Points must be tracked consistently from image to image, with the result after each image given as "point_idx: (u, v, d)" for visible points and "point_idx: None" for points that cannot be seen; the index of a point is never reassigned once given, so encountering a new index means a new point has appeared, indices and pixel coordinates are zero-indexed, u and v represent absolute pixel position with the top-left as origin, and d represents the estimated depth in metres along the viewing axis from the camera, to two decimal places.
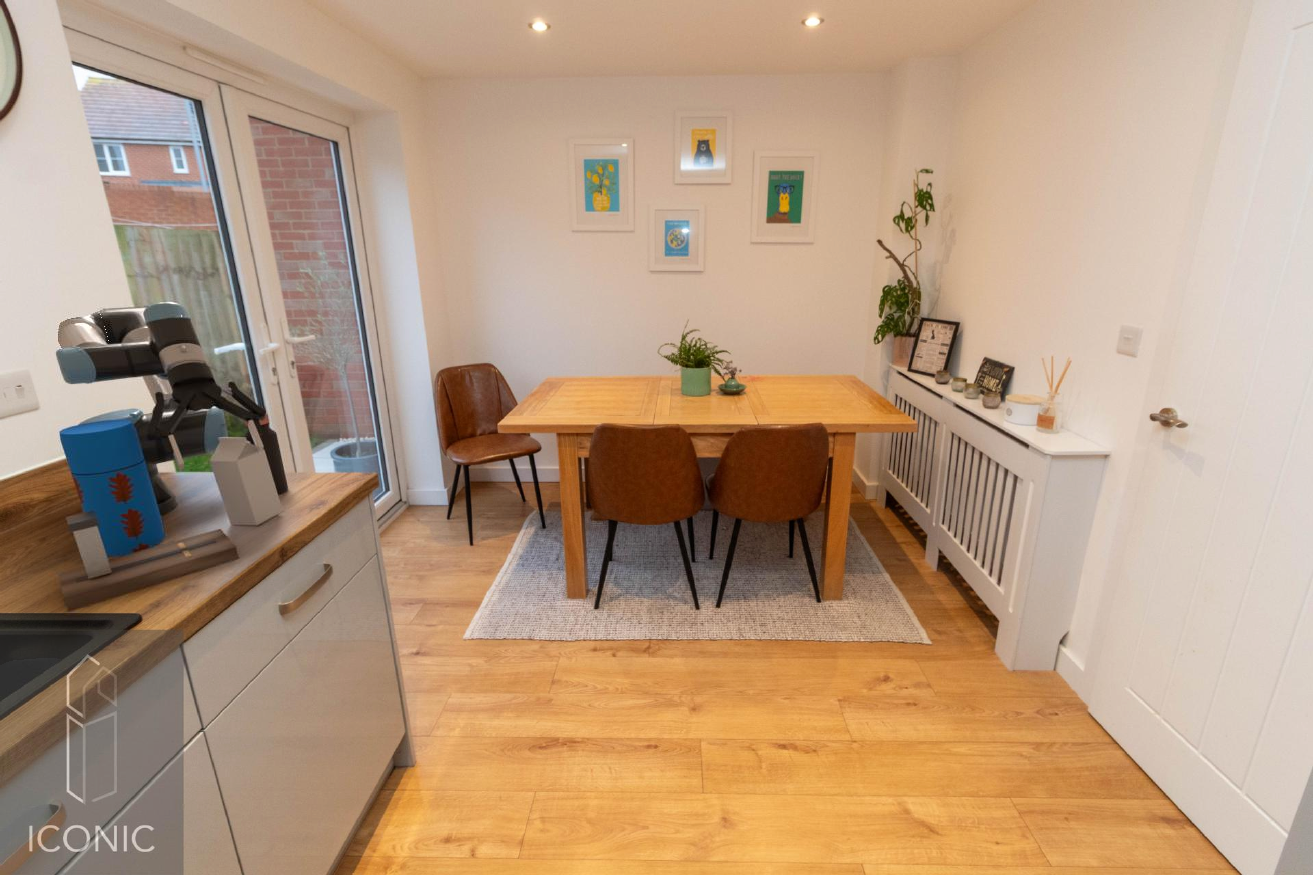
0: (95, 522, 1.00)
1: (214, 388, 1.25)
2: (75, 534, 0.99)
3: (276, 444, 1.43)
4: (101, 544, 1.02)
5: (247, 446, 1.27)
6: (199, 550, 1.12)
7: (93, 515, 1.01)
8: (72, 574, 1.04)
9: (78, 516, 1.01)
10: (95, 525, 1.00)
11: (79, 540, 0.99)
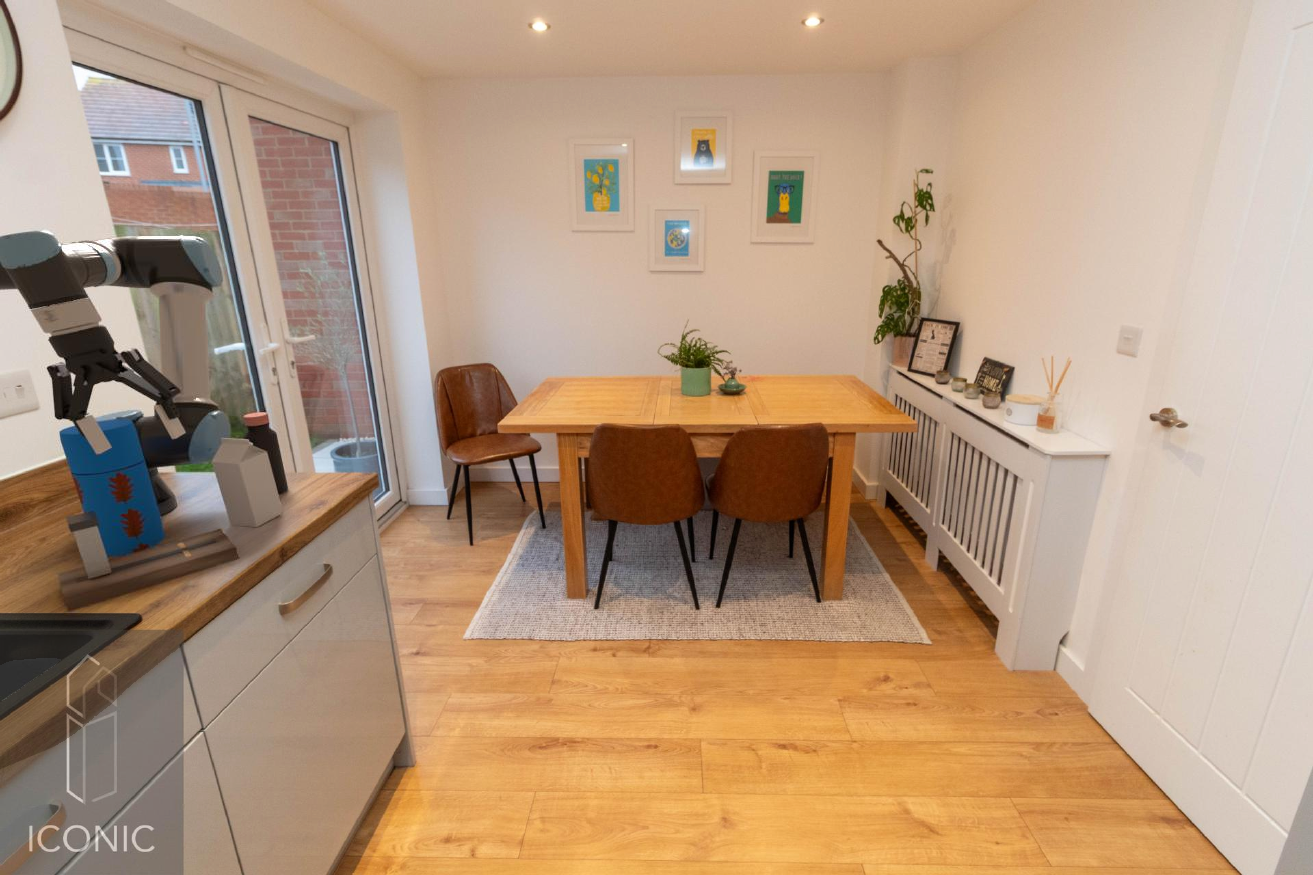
0: (95, 522, 1.00)
1: (107, 360, 1.00)
2: (75, 534, 0.99)
3: (276, 444, 1.43)
4: (101, 544, 1.02)
5: (250, 448, 1.26)
6: (199, 550, 1.12)
7: (93, 515, 1.01)
8: (72, 574, 1.04)
9: (78, 516, 1.01)
10: (95, 525, 1.00)
11: (79, 540, 0.99)
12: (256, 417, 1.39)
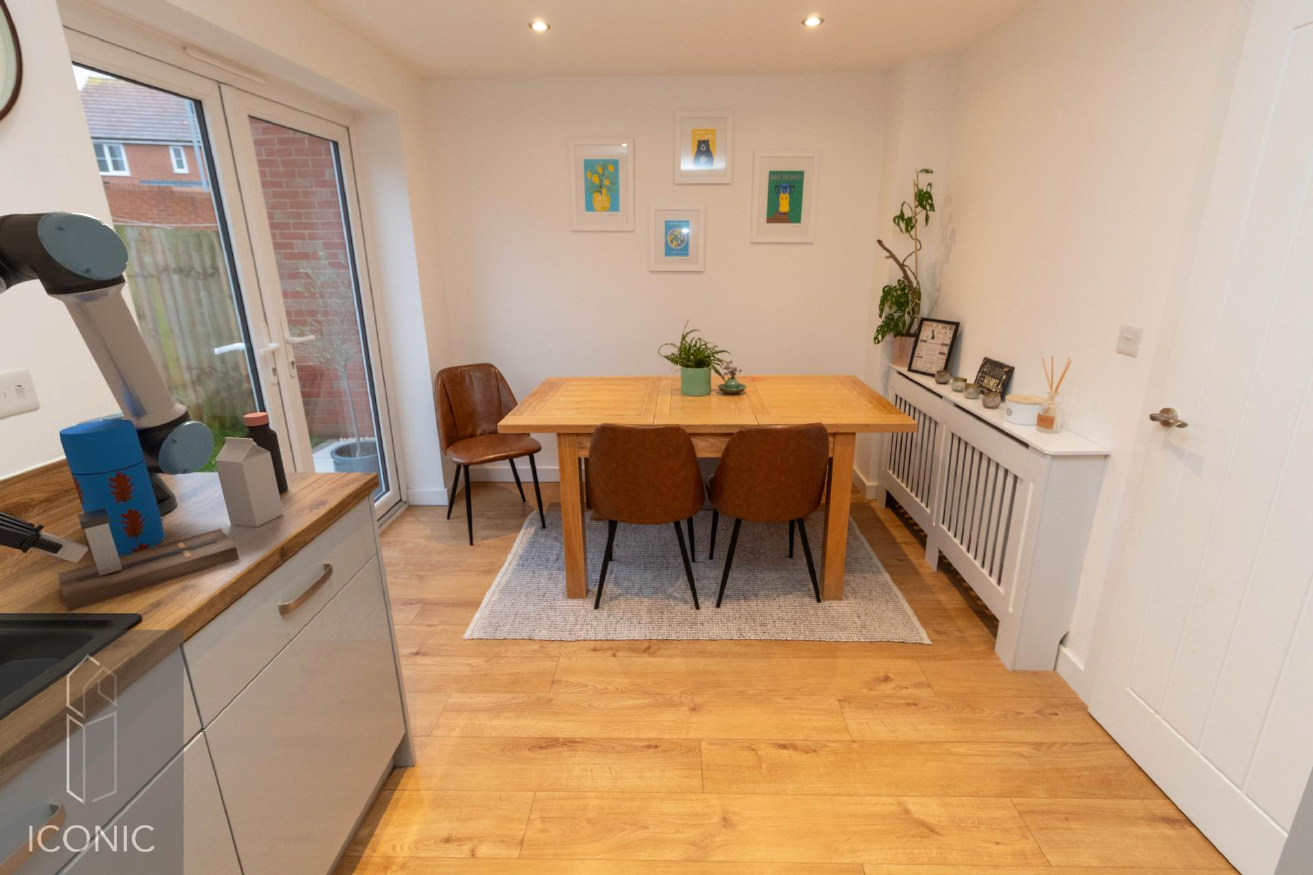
0: (106, 519, 1.01)
1: None
2: (86, 531, 1.00)
3: (276, 444, 1.43)
4: (112, 541, 1.03)
5: (253, 447, 1.27)
6: (199, 550, 1.12)
7: (104, 512, 1.02)
8: (72, 574, 1.04)
9: (89, 514, 1.02)
10: (106, 522, 1.01)
11: (90, 537, 1.00)
12: (256, 417, 1.39)
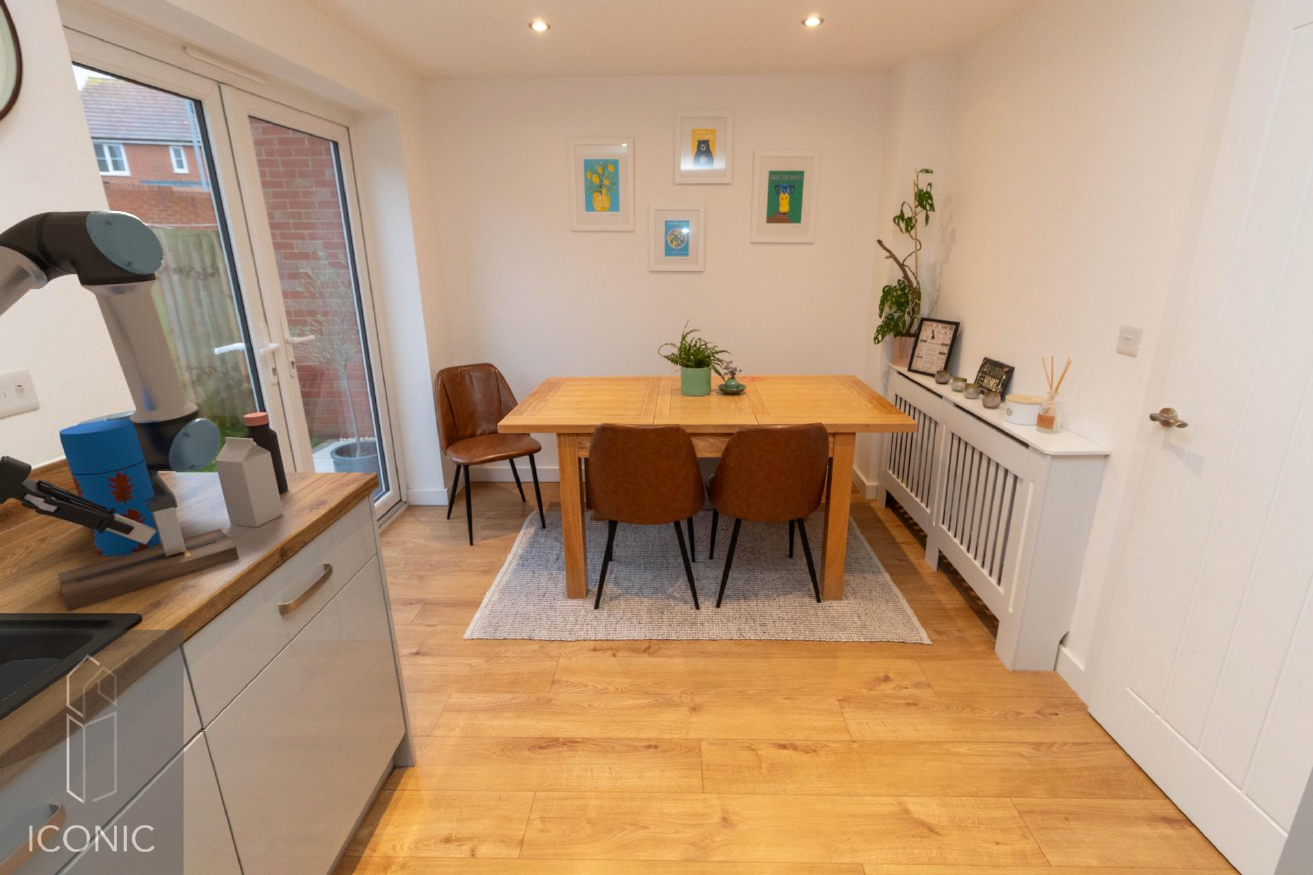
0: (173, 503, 1.08)
1: None
2: (155, 514, 1.06)
3: (276, 444, 1.43)
4: (177, 524, 1.09)
5: (253, 447, 1.27)
6: (199, 550, 1.12)
7: (170, 497, 1.09)
8: (72, 574, 1.04)
9: (157, 498, 1.08)
10: (173, 506, 1.08)
11: (158, 520, 1.07)
12: (256, 417, 1.39)
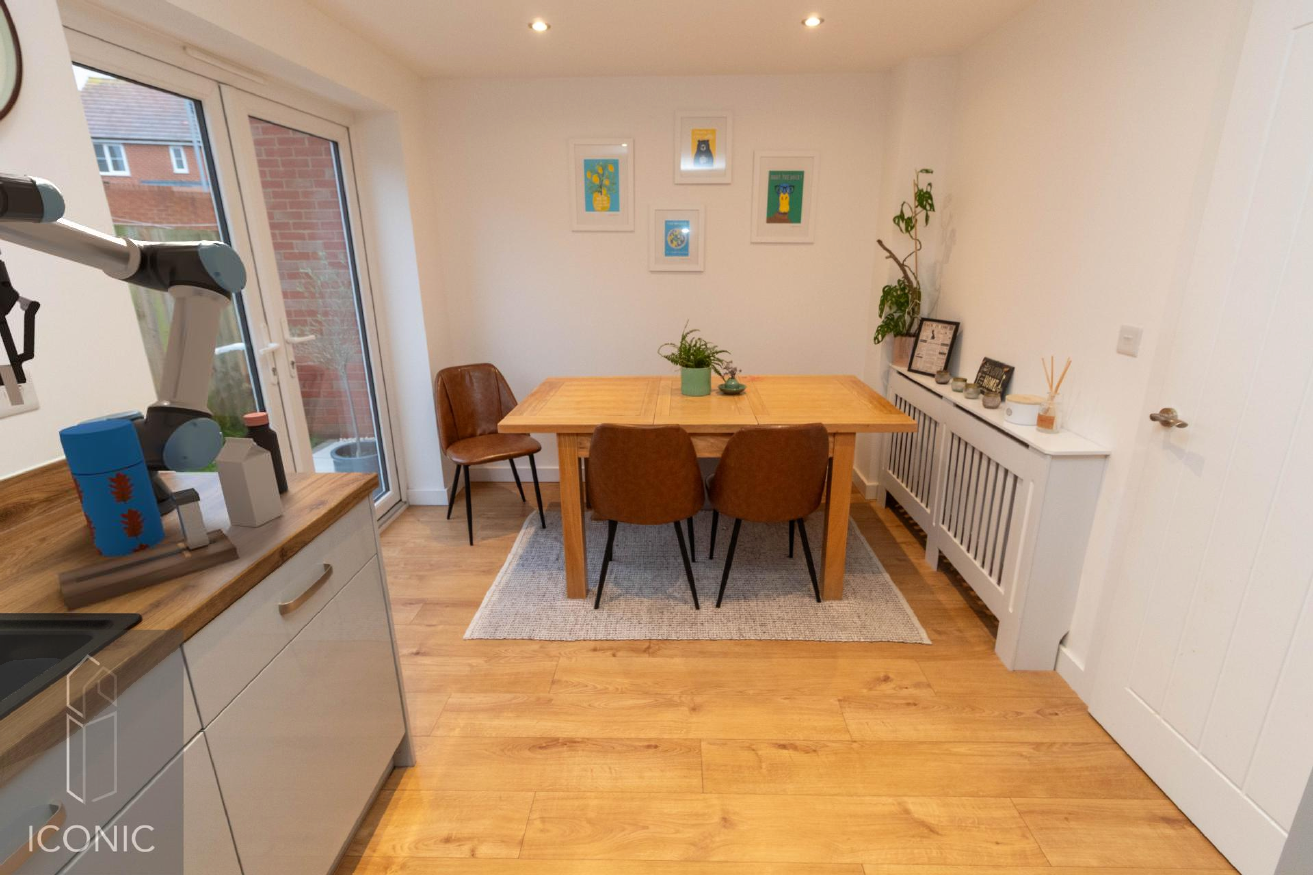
0: (197, 497, 1.10)
1: (7, 294, 0.96)
2: (180, 508, 1.09)
3: (276, 444, 1.43)
4: (201, 518, 1.12)
5: (253, 447, 1.27)
6: (199, 550, 1.12)
7: (194, 491, 1.11)
8: (72, 574, 1.04)
9: (181, 492, 1.11)
10: (197, 500, 1.10)
11: (183, 514, 1.09)
12: (256, 417, 1.39)
